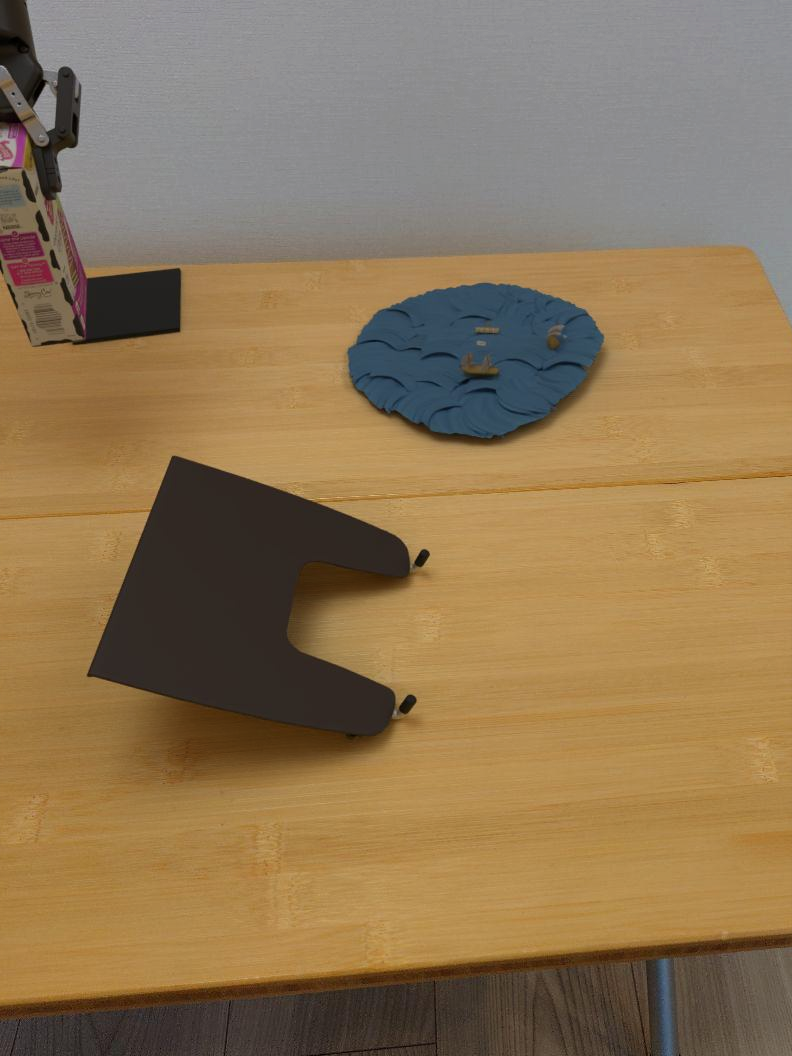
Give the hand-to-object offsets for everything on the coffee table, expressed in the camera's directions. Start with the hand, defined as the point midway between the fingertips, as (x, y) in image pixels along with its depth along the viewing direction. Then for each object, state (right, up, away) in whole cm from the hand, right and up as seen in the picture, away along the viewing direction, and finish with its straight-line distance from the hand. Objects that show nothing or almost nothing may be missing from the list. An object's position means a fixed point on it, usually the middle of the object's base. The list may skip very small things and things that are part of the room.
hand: (13, 199), depth 80 cm
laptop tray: (+24, -37, +1) cm, 44 cm away
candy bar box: (-1, -7, +10) cm, 12 cm away
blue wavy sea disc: (+37, -8, +29) cm, 48 cm away
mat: (-6, 0, +36) cm, 36 cm away
